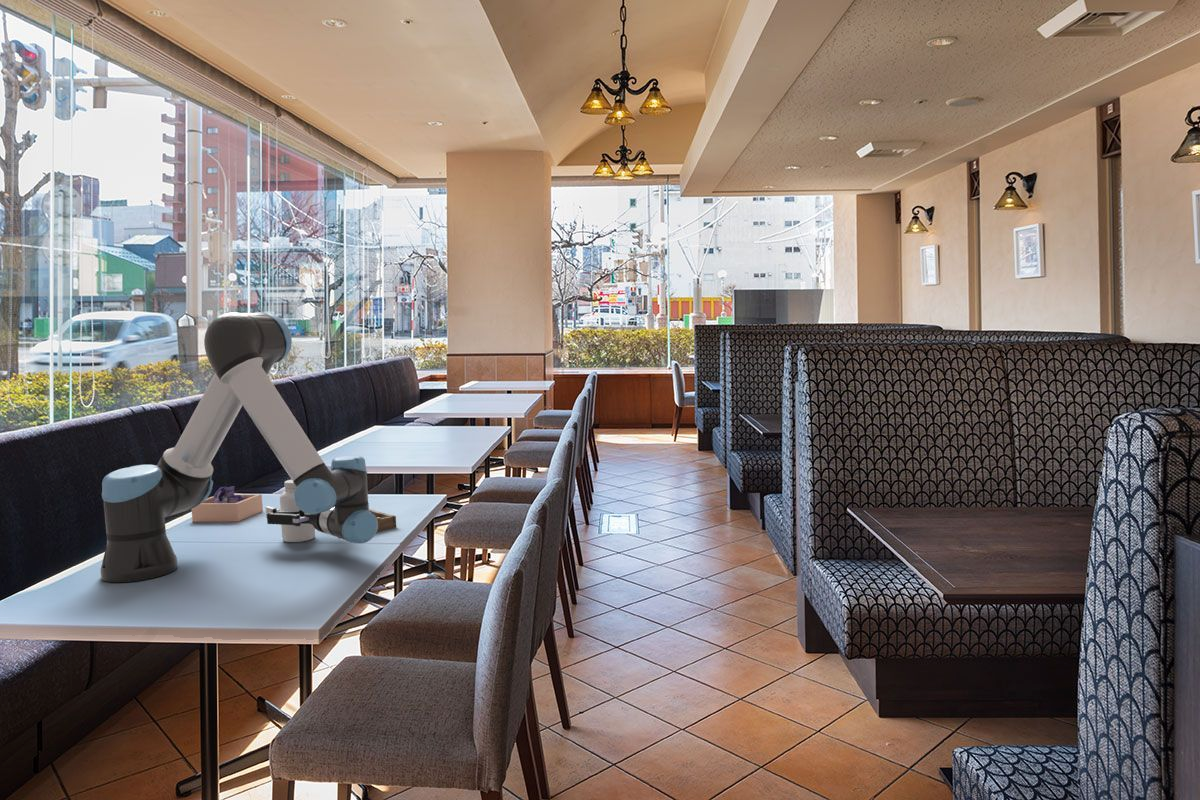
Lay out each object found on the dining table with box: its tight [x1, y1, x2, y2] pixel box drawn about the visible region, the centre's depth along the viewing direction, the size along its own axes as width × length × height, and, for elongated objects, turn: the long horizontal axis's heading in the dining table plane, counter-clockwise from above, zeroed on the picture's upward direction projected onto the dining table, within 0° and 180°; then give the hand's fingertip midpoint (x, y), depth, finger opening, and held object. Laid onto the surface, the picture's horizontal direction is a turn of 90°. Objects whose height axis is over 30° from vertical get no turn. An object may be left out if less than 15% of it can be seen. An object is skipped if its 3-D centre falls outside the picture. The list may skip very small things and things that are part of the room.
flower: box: [212, 485, 244, 503], centre depth 248 cm, size 9×9×10 cm
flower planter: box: [190, 493, 264, 523], centre depth 247 cm, size 13×14×5 cm
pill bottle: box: [279, 479, 316, 543], centre depth 216 cm, size 8×8×15 cm
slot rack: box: [369, 508, 397, 532], centre depth 230 cm, size 24×12×3 cm, turn 44°
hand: (293, 506), depth 218 cm, fingers open, 13 cm apart
